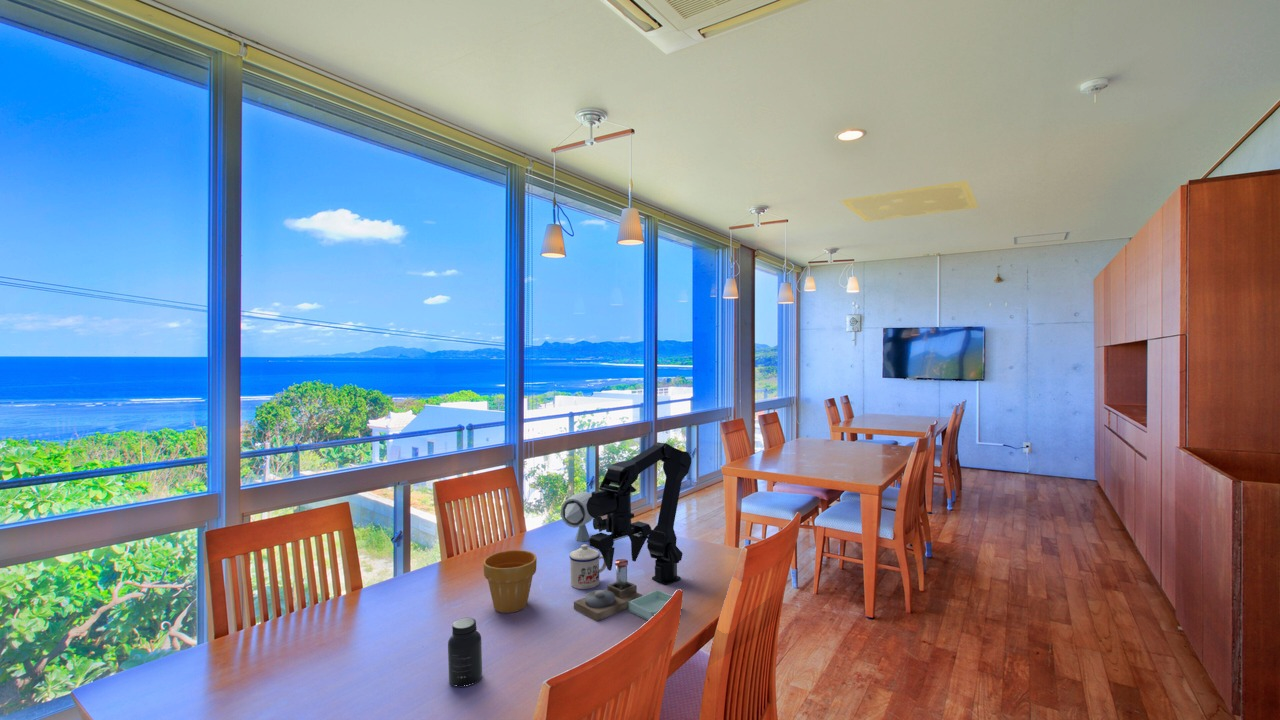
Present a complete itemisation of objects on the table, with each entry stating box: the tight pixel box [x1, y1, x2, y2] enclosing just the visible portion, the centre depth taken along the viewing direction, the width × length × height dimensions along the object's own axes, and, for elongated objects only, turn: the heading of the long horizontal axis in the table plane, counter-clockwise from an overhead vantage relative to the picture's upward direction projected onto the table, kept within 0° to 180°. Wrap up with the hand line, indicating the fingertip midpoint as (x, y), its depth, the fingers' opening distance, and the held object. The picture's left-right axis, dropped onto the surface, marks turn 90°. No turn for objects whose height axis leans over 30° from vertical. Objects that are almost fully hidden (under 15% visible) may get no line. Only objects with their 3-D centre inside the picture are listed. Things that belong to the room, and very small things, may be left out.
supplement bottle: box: [447, 617, 483, 687], centre depth 117 cm, size 7×7×12 cm
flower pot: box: [483, 549, 537, 614], centre depth 152 cm, size 14×14×13 cm
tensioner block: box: [573, 581, 643, 622], centre depth 151 cm, size 16×10×4 cm, turn 134°
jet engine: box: [560, 491, 594, 543], centre depth 205 cm, size 15×20×18 cm
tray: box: [627, 589, 673, 621], centre depth 148 cm, size 11×9×2 cm
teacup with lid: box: [569, 543, 607, 590], centre depth 167 cm, size 12×9×12 cm
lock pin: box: [614, 558, 629, 590], centre depth 155 cm, size 4×4×9 cm
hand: (621, 565), depth 155 cm, fingers open, 9 cm apart
